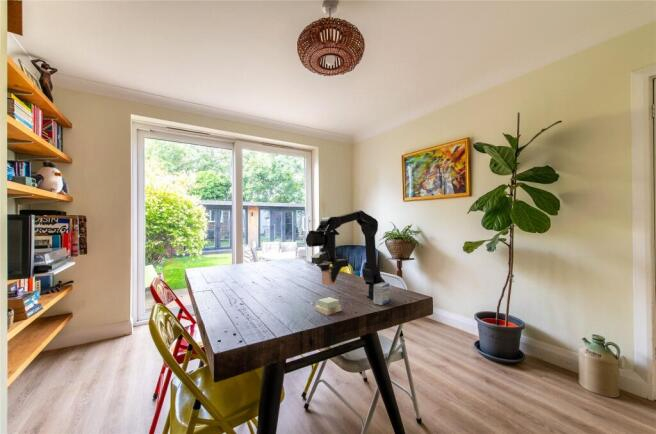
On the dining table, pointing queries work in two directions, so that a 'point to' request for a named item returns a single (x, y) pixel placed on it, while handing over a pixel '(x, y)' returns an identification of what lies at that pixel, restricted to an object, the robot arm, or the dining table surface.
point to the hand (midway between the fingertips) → (329, 281)
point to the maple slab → (328, 310)
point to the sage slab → (328, 303)
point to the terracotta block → (327, 278)
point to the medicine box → (381, 293)
